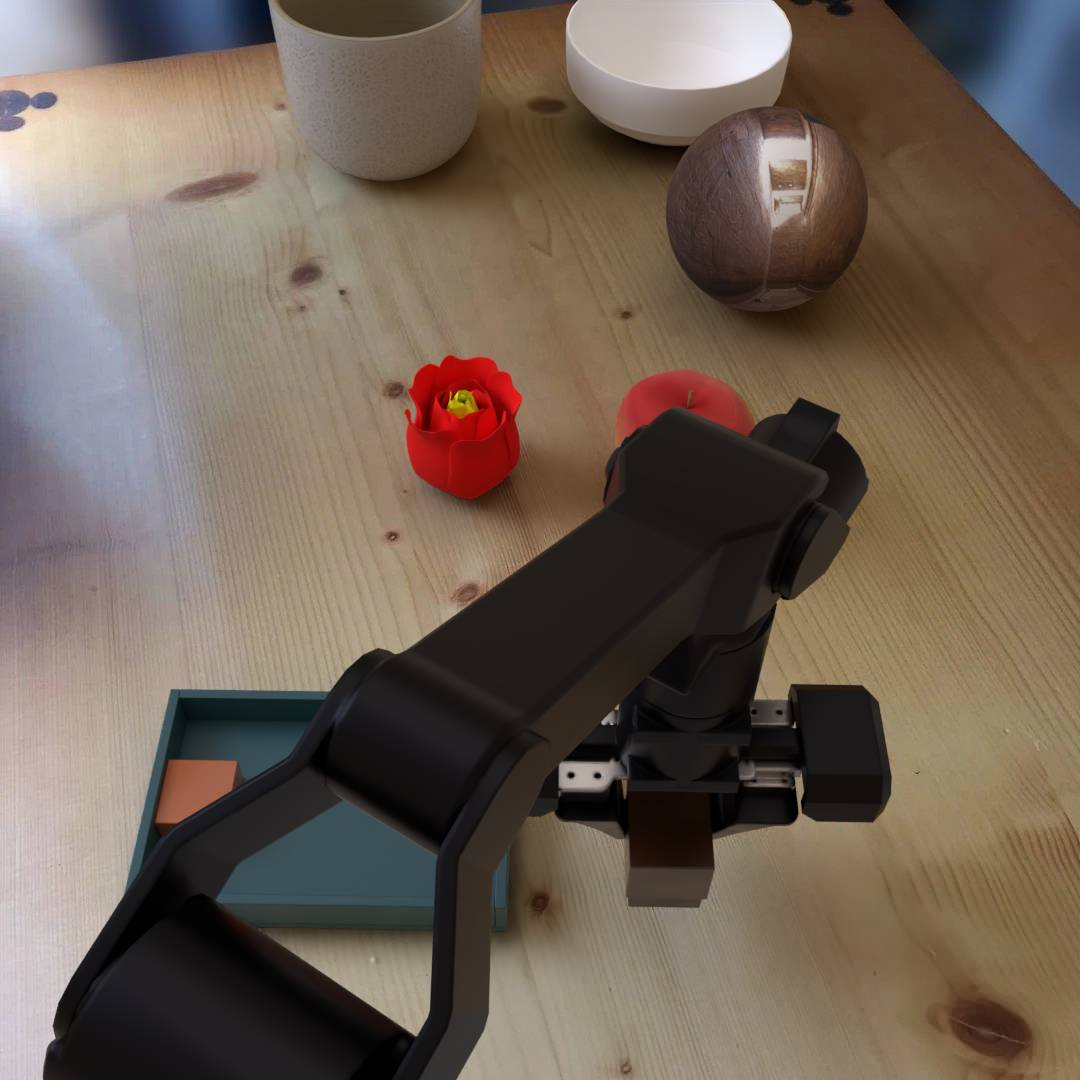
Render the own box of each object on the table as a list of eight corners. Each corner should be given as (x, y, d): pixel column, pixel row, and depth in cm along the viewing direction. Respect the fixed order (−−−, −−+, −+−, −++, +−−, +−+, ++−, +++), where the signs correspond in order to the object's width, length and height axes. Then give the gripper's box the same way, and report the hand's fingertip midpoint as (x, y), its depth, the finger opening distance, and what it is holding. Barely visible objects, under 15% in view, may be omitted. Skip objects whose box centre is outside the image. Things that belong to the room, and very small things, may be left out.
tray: (135, 925, 71) (121, 902, 68) (181, 716, 79) (170, 688, 77) (507, 931, 71) (506, 908, 68) (513, 721, 79) (513, 693, 77)
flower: (541, 488, 91) (542, 407, 85) (445, 534, 88) (438, 454, 82) (482, 419, 95) (479, 337, 89) (389, 462, 92) (379, 380, 86)
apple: (729, 565, 87) (749, 464, 79) (591, 532, 88) (597, 430, 81) (757, 462, 92) (778, 359, 85) (627, 433, 94) (635, 329, 86)
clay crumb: (161, 839, 73) (153, 823, 72) (175, 776, 76) (168, 758, 74) (232, 840, 73) (226, 824, 72) (244, 777, 76) (237, 760, 74)
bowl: (577, 46, 127) (580, -38, 120) (781, 63, 125) (794, -22, 118) (550, 166, 114) (551, 79, 108) (775, 186, 113) (790, 99, 106)
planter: (341, 229, 109) (318, 62, 97) (265, 126, 118) (235, -38, 106) (520, 169, 114) (518, 5, 102) (433, 75, 123) (423, -86, 111)
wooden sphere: (703, 370, 98) (726, 206, 87) (631, 250, 107) (642, 86, 95) (881, 328, 101) (926, 163, 90) (796, 214, 110) (827, 51, 99)
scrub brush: (623, 911, 65) (629, 867, 61) (619, 768, 70) (625, 720, 66) (704, 912, 65) (715, 868, 61) (694, 769, 70) (704, 721, 66)
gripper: (886, 516, 59) (826, 699, 72) (477, 509, 59) (486, 693, 72) (928, 728, 52) (853, 891, 64) (464, 720, 52) (477, 884, 65)
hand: (662, 830), depth 66 cm, fingers closed on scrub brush, 4 cm apart
